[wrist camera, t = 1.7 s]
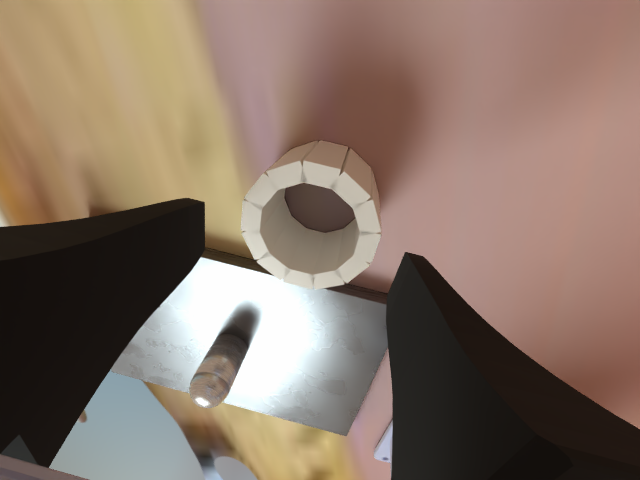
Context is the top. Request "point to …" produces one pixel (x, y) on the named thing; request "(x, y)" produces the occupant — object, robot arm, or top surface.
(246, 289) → the steel tile with stud
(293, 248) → the ring
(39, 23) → the top surface
